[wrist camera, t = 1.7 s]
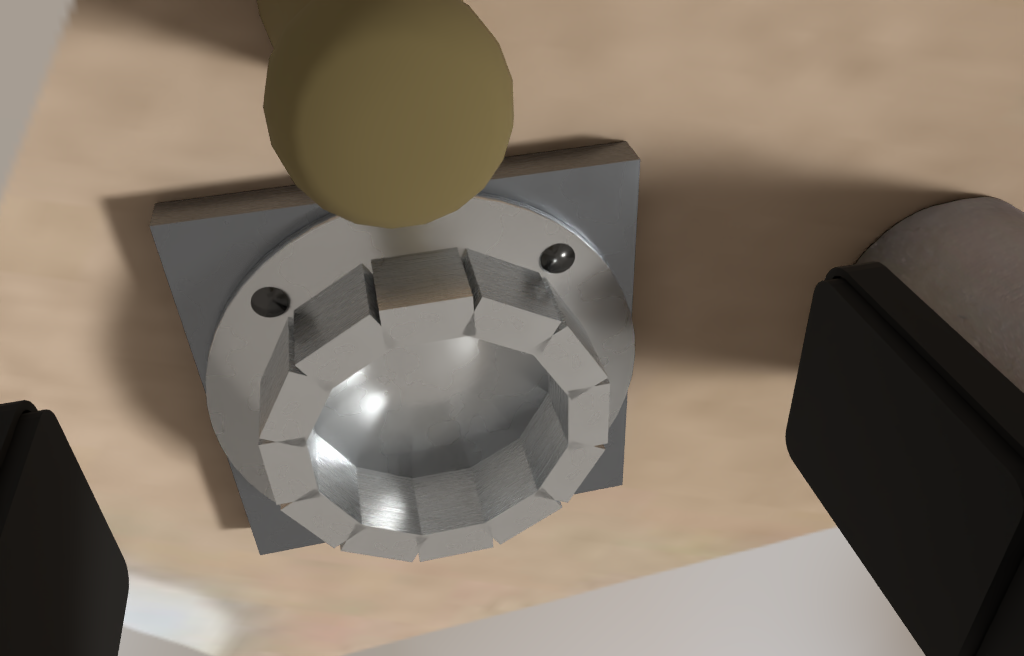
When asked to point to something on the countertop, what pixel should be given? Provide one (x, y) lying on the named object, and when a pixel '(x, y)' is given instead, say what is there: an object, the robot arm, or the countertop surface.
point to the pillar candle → (966, 272)
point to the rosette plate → (415, 354)
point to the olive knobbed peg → (386, 105)
